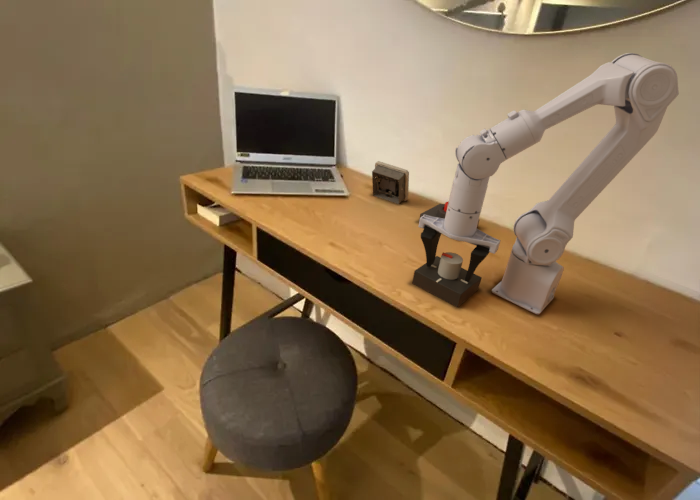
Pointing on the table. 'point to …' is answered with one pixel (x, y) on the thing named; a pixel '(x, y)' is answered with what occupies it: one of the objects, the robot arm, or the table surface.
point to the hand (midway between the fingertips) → (448, 271)
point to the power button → (446, 206)
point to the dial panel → (446, 283)
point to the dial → (450, 265)
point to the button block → (436, 212)
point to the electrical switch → (390, 182)
